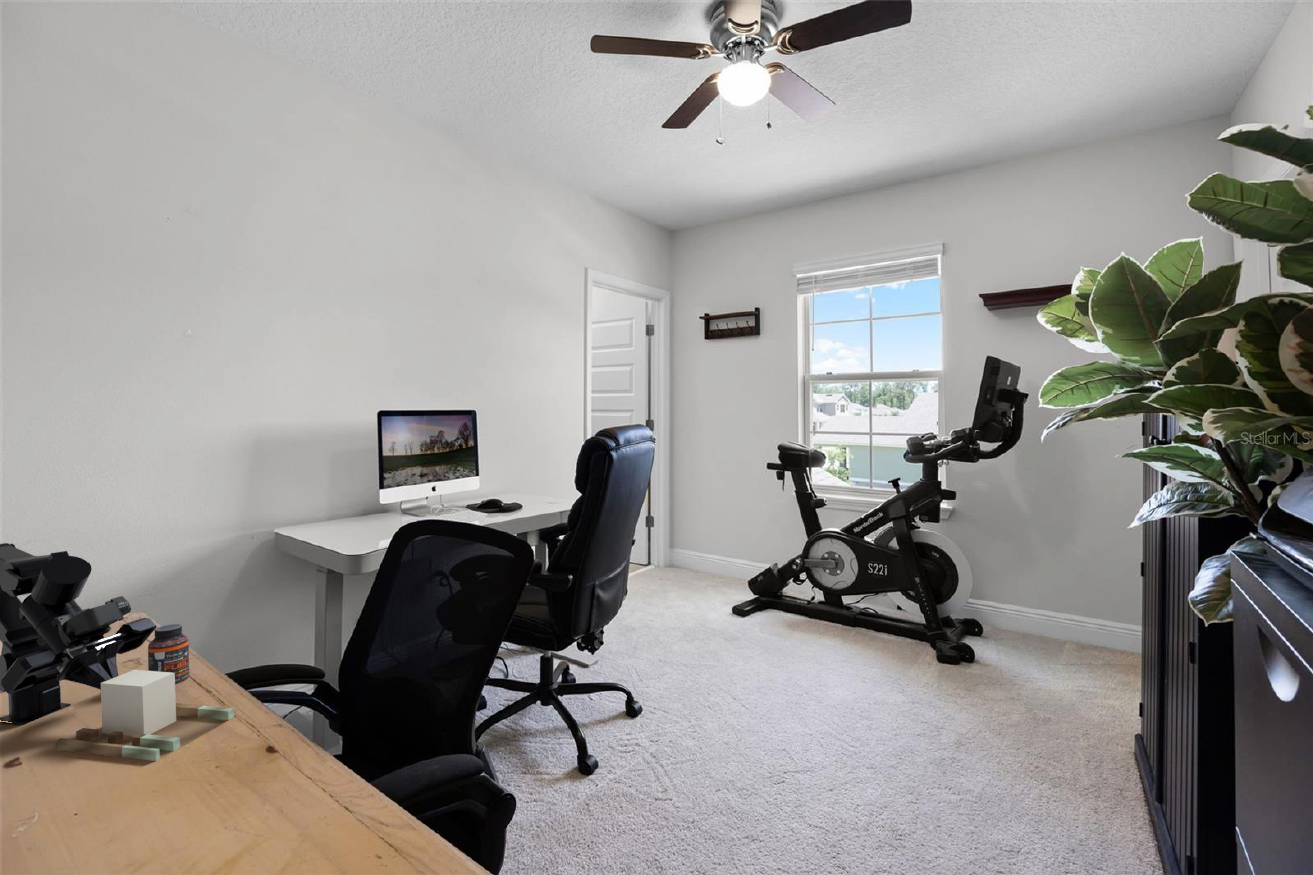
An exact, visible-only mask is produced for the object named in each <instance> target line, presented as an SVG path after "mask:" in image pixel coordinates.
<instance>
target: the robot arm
mask: <svg viewBox="0 0 1313 875" xmlns="http://www.w3.org/2000/svg"><path fill="white" fill-rule="evenodd" d="M91 573H92V565H91V564H90V562H88V561H87V560H86V559H84V558H82V557H79V556H73V555H69V553H68V550H65V551H64V550H63V551H56V552H51V553H50V554H44V555H33V554H31V553H29V552H27V551H24V550H22V549H19V548H17V547H16V545H15V544H14V543H8V542H3V543H0V642H1V643H2V646H1V652H0V653H1V654H0V691H1V692H3V693H5V692H6V693H7V694H8V696H7V697H8V714H7V715H4V716H1V717H0V720H1V721H8V722H12V723H17V724H16V725H20V724H22V725H23V726H24V725H26V724H27V725H28V724H30V723H31V722H34V721H36V720H39V719H41V718H44V717H46V716H49V715H51V714H54V713H56V712H58V711H61V710H63V709H66V708H67V707H71V706H72V704H71V703H66V702H65V703H64V702H62V695H61V694H62V693H61V690H62V689H61V686H60V682H61V681H69V682H73V683H78V684H82V685H85V686H88V687H91V688H94V689H97V690H100V691H101V683H102V682H105V681H107V680H110V679H112V678H115V677H117V676H119V671H118V670H119V669H118V664H117V655H122V654H126V653H129V652H131V651H134V650H137V649H138V648H140V647H142V646H143V644H144V643H145V642H146V641H147V639H148V638H149V637H150V636H151V634H153V632H155V629H156V628H158V626H157V625H156V624H155V622H154V621H153V620H152V619H151V618H150V617H149V618H148V617H142V618H140V619H139V618H138V619H136V620H133V621H129V622H127V623H126V622H125V623H124V624H122V625H121V626H120V627H119V628H118V630H117V631H116V632H115V633H114V635H110V636H108V637H104V636H105V634H107V633H108V634H109V632H110V631H111V630H112V627H111V625H112V624H115V623H117V622H121V621H123V620H124V619H125V617H124V616H125V615H127V614H129V613H131V610H132V607H131V604H130V602H129V601H128V600H127V599H126V598H125V597H124V596H123V595H121V596H117V597H114V598H111V599H110V600H107V601H105V602H104V604H102V605H98V606H95V607H92V608H84V609H82V608H81V606H80V605H79V604H78V603H77V602H76V600H77V598H79V597H80V596H81V593H82V591H83V589H84V587H85V585H86V583H87V581H88V579H89V577H90V575H91ZM24 595H28V596H26V597H25V598H24V599H23V601H21V600H20V598H19V597H18V596H24Z"/></svg>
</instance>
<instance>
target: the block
mask: <svg viewBox="0 0 1313 875" xmlns="http://www.w3.org/2000/svg"><path fill="white" fill-rule="evenodd" d="M176 699H177V698H176V684H175V673H171V672H158V671H148V670H143V669H142V670H141V669H133V670H130V671H127V672H126V673H123V674H120V675H118V676H117V677H115V678H112V679H110V680H107V681H105V682H102V683H101V690H100V703H101V706H100V707H101V729H102V733H106V734H110V733H112V732H114V731H119V732H123V735H126V736H135V735H137V734H149V735H150V734H152V733H154V732H156V731H158V730H159V729H161V728H163V727H165V726H167V725H169V724H171V723H173V722H175V721H176V703H177V702H176Z"/></svg>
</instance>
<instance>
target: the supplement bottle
mask: <svg viewBox="0 0 1313 875" xmlns="http://www.w3.org/2000/svg"><path fill="white" fill-rule="evenodd" d="M182 632H183V625H182V624H180V623H174V624H173V623H172V624H166V625H165V624H164V625H162V626H157V627H156V629H155V630H154V638H153V640H150V642H149V643H148V646H147V659H148V661H147V663H148V664H147V667H148V668H147V671H158V672H171V673H175V685H178V684H180V683H183V682H185V681H186V680H188V679H189V677H190V646H189V641H190V640H189V637H188V636H187V635H186V634H183V633H182Z"/></svg>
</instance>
